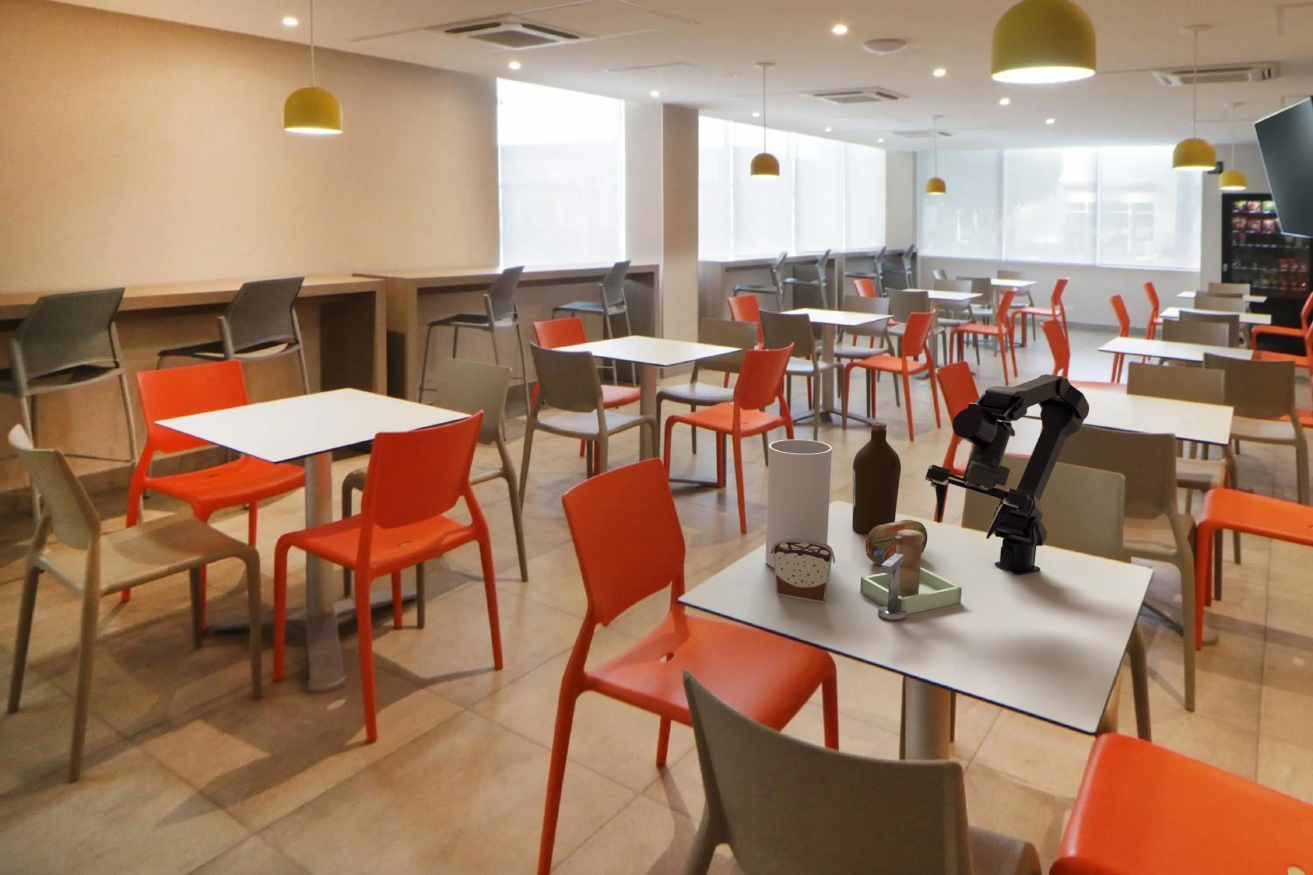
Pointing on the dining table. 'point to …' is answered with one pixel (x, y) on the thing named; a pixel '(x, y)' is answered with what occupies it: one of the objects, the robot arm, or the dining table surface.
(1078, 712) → the dining table surface
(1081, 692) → the dining table surface
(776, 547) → the food container
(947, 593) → the tray
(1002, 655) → the dining table surface
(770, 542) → the cylinder vase
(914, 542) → the brown coffee tumbler
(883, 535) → the tin
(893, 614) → the t stake
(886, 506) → the olive oil
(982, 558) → the dining table surface
